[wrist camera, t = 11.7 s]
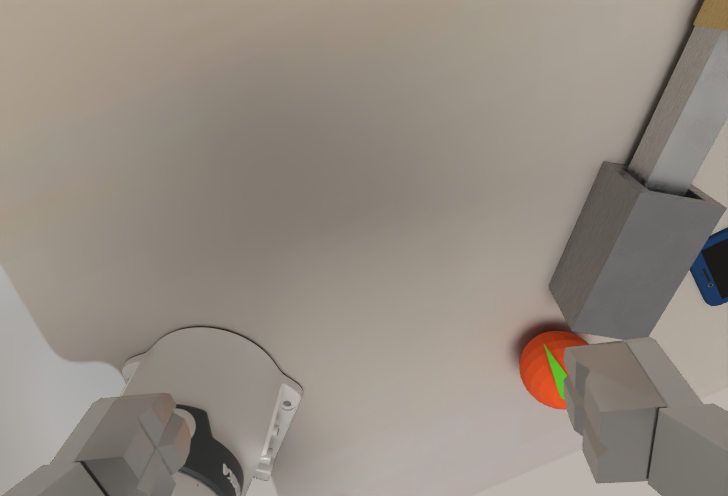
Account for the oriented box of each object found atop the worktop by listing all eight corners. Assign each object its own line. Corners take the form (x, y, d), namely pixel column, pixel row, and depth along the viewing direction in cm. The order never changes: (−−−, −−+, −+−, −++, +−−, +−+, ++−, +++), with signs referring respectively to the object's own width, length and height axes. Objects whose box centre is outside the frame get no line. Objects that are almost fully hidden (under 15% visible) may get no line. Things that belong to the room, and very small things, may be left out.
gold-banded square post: (655, 198, 37) (693, 229, 32) (614, 191, 37) (646, 221, 32) (808, -95, 28) (891, -109, 23) (753, -106, 28) (826, -123, 23)
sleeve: (612, 297, 43) (644, 343, 38) (548, 286, 43) (571, 331, 37) (677, 174, 37) (726, 208, 32) (603, 161, 37) (640, 192, 31)
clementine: (495, 326, 45) (512, 381, 39) (565, 296, 43) (595, 349, 37) (528, 379, 48) (549, 437, 42) (595, 353, 46) (627, 411, 40)
